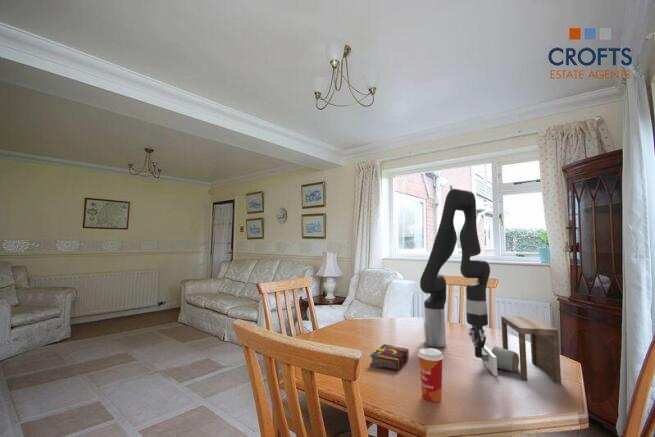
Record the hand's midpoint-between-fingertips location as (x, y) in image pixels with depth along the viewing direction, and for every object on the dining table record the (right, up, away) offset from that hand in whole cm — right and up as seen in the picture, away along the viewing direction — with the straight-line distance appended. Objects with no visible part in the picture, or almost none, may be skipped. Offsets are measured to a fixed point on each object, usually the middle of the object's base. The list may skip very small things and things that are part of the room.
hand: (478, 357), depth 117 cm
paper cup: (-26, -3, -23) cm, 34 cm away
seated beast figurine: (+20, -8, +43) cm, 48 cm away
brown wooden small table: (+17, -4, -4) cm, 18 cm away
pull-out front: (+3, -4, -1) cm, 5 cm away
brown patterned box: (-33, -5, +5) cm, 34 cm away
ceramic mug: (+10, -4, -1) cm, 11 cm away
